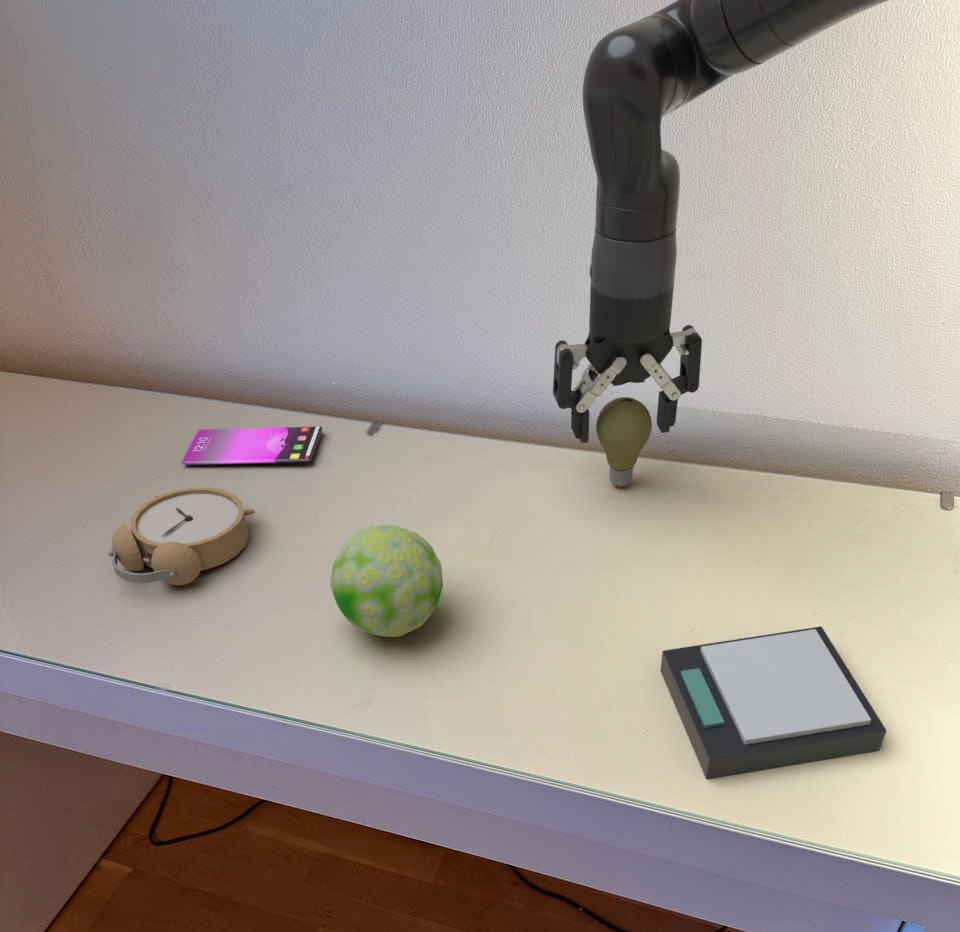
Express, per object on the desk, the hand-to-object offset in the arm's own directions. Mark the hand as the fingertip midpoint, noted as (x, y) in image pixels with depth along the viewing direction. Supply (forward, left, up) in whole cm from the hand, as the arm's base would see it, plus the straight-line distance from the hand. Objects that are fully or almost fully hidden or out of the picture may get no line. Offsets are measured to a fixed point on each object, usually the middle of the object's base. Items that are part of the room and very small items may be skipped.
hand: (622, 433), depth 98 cm
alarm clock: (+46, +1, -6) cm, 46 cm away
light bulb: (0, 0, -6) cm, 6 cm away
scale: (-3, +33, -6) cm, 34 cm away
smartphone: (+39, -17, -6) cm, 43 cm away
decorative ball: (+26, +16, -6) cm, 31 cm away
